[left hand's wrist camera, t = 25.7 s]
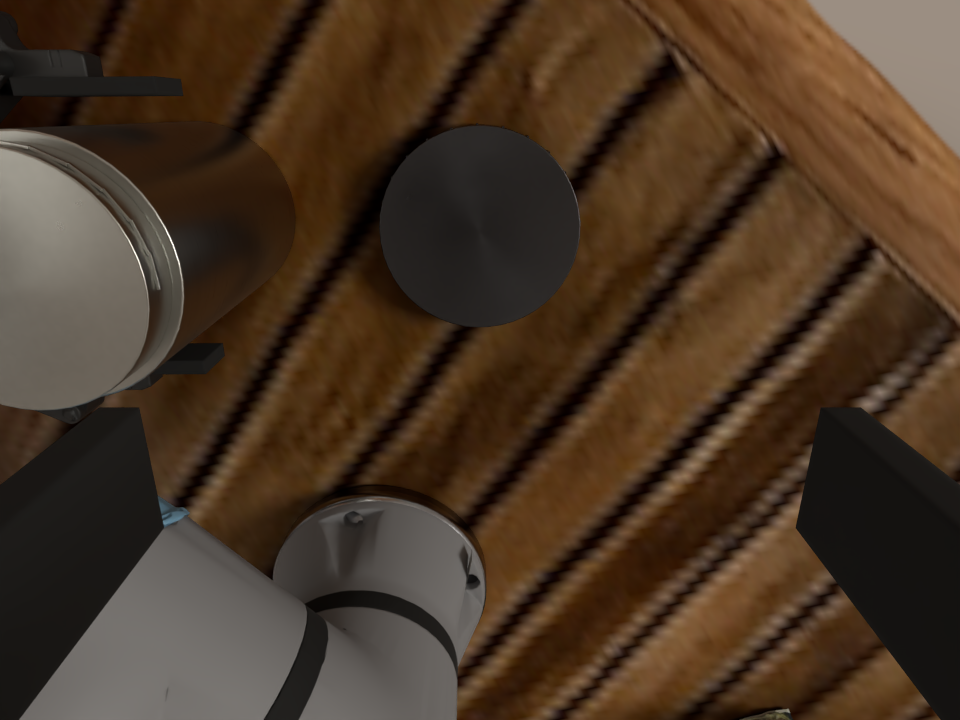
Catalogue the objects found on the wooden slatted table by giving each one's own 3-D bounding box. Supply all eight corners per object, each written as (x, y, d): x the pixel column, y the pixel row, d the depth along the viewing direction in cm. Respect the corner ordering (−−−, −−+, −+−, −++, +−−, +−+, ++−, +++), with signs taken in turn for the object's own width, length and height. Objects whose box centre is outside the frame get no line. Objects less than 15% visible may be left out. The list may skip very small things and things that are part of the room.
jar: (246, 93, 36) (53, 79, 20) (323, 262, 40) (213, 369, 23) (89, 159, 38) (-215, 196, 21) (177, 317, 41) (-26, 455, 25)
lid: (384, 314, 41) (379, 325, 39) (381, 119, 37) (375, 119, 35) (567, 321, 41) (571, 331, 39) (584, 127, 37) (590, 128, 35)
